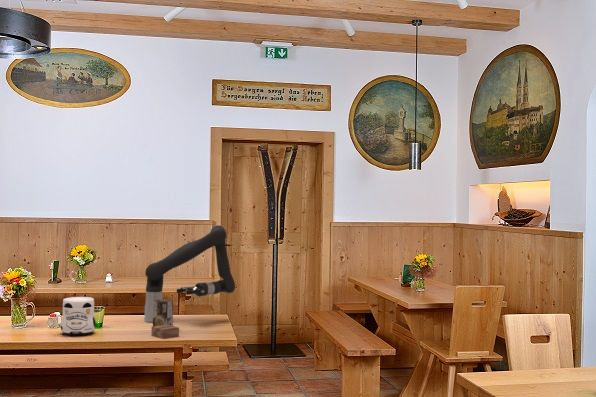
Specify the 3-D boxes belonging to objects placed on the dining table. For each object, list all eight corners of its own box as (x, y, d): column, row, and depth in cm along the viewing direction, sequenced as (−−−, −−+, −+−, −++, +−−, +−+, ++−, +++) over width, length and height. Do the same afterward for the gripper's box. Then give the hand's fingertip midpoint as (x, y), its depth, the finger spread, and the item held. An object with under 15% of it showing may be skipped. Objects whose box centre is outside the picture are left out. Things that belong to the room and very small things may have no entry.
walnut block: (151, 336, 367) (151, 326, 367) (167, 333, 374) (168, 324, 374) (162, 339, 359) (162, 329, 359) (178, 337, 366) (179, 327, 366)
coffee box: (173, 330, 383) (173, 300, 383) (167, 332, 377) (167, 301, 377) (158, 328, 386) (158, 299, 386) (152, 330, 380) (152, 300, 380)
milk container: (71, 338, 355) (72, 302, 355) (54, 333, 367) (54, 298, 367) (101, 334, 368) (102, 299, 368) (84, 329, 380) (84, 295, 380)
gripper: (196, 281, 407) (173, 283, 395) (212, 283, 397) (189, 286, 385) (196, 294, 407) (173, 297, 395) (212, 297, 397) (189, 300, 385)
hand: (181, 291), depth 390 cm, fingers open, 8 cm apart
